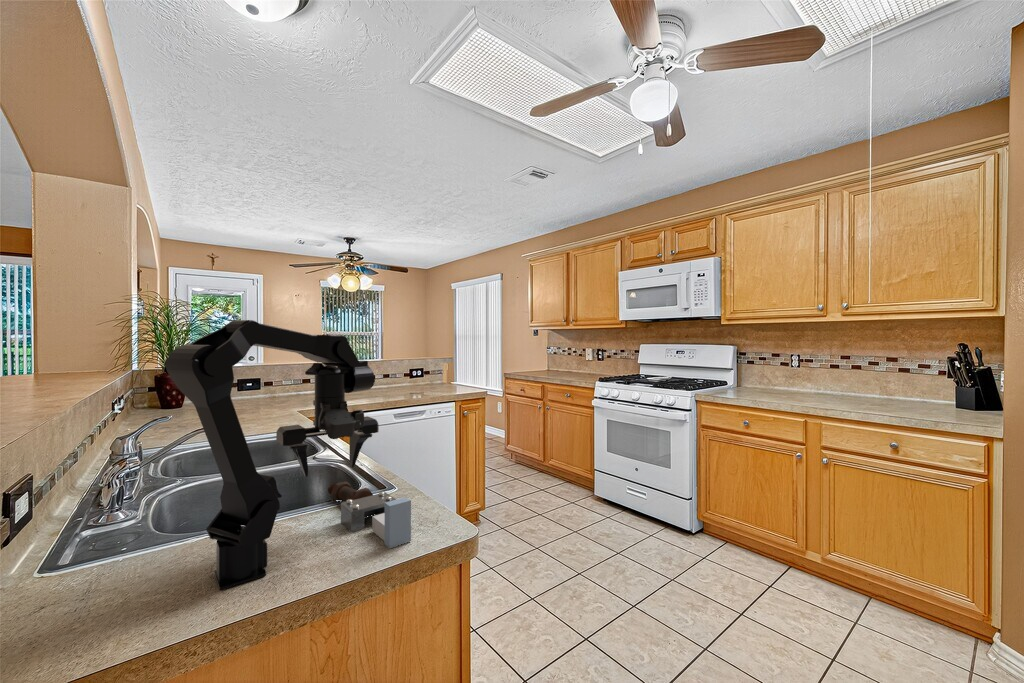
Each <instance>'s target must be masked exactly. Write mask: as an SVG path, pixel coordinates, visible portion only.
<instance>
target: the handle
mask: <svg viewBox="0 0 1024 683" xmlns="http://www.w3.org/2000/svg"><path fill="white" fill-rule="evenodd" d="M396 499H397V498H396ZM371 517H372V518H371V519H372V530H371V531H372V532H373V533H374V534H375V535H376V536H378V537H379V538H380V539H381V540H382V541H383V542H384V546H386V547H387V548H388V549H392V548H396V547H399V546H401V544H402V545H405V544H408V543H410V542H409V541H411V542H412V500H411V499H410V498H408V497H405V496H404V497H402V498H398V499H397V500H393V501H389V502H385V513H383V514H379V515H374V516H371ZM407 542H408V543H407ZM404 543H405V544H404ZM398 545H399V546H398Z"/></svg>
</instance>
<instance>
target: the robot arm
mask: <svg viewBox="0 0 1024 683" xmlns="http://www.w3.org/2000/svg"><path fill="white" fill-rule="evenodd" d="M253 346H255V347H260V348H265V349H273V350H279V351H284V352H290V353H294V354H295V353H296V354H298V355H301V356H302V357H303V358H305V359H308V360H310V361H313V362H314V363H313V364H312V365H311V366H310V367H309V368H308V369H307V370H305V373H304V374H305V375H306V376H314V400H313V399H312V400H313V402H312V403H313V406H314V420H313V421H312V423H313V427H304V426H301V425H300V424H291V425H290V424H289V425H284V426H279V427H278V428H277V429H276V434H275V435H276V440H275V441H276V442H277V443H279V444H280V445H281V446H284V447H287V448H288V449H290V450H292V452H293V453H294V454H295V457H296V459H297V461H298V464H299V466H300V469H301V472H302V474H303V475H304V477H308V476H309V465H308V463H309V462H308V453H307V450H308V444H307V443H305V441H306V440H307V438H314V437H320V436H327V437H328V438H329V439H331V440H338V439H339V438H345V437H347V438H349V456H348V457H349V466H350V468H352V469H353V468H354V469H355V465H356V463H357V461H358V460H357V459H358V457H359V454H360V452H361V450H362V447H363V445H364V443H365V442H366V441H367V440H368V439H369V438H372V437H373V434H376V433H379V421H377V419H376V418H373V417H370V416H368V415H367V416H365V412H364V411H363V410H362V409H356V410H355V409H354V410H352V411H349V409H348V402H347V401H346V394H350V393H351V394H352V393H358V392H363V391H369V390H371V389H372V388H373V387H374V384H375V382H376V375H375V373H374V370H372V368H371V367H370V366H369V361H368V360H359V358H358V357H357V355H356V354H355V351H354V350H353V349H352V347H351V345H350V342H349V341H348V338H347V336H345V335H343V334H309V333H304V332H301V331H300V332H299V331H296V330H290V329H287V328H283V327H278V326H273V325H269V324H265V323H260V322H257V321H256V320H252V319H237V320H235V319H234V320H232V321H230V322H228V323H226V324H225V325H224V326H222V327H221V328H219V329H217V330H215V331H213V332H211V333H208V334H205V335H204V336H202V337H200V338H198V339H196V340H194V341H193V342H191V343H189V344H184V345H183V344H182V345H179V346H177V347H175V348H174V349H173V350H172V351H171V352H170V353H169V355H168V357H167V358H165V369H166V370H165V371H166V372H167V374H168V375H169V377H170V378H171V380H172V381H173V383H174V384H175V386H176V387H177V390H179V391H180V392H181V393H182V394H183V395H184V396H185V397H186V398H187V399H188V400H189V401H190V402H191V403H192V404H193V406H194V407H195V410H196V413H197V416H198V418H199V421H200V423H201V425H202V428H203V431H204V434H205V437H206V439H207V442H208V444H209V447H210V449H211V452H212V455H213V457H214V461H215V463H216V465H217V469H218V470H219V472H220V474H219V475H220V476H221V478H222V482H223V486H222V490H221V494H220V498H219V499H220V504H221V509H220V510H219V511H218V513H217V514H216V515H215V517H214V518H213V519H212V520H211V522H210V524H209V525H208V526H207V527H206V533H207V535H208V537H209V539H210V540H215V541H216V570H214V573H213V574H214V577H215V581H216V583H217V586H218V589H219V590H221V591H222V590H226V589H229V588H231V587H235V586H238V585H241V584H244V583H247V582H251V581H255V580H257V579H261V578H264V577H266V575H267V571H266V569H265V568H267V566H268V543H267V539H269V538H270V537H271V535H272V531H273V528H274V525H275V521H276V518H277V515H278V511H280V509H281V503H280V502H281V501H280V498H282V497H283V495H282V494H281V493H280V492H279V490H278V487H277V481H276V479H275V477H274V476H270V475H266V474H260V473H259V472H258V471H257V468H256V465H255V462H254V459H253V458H252V457H253V456H252V454H251V451H250V448H249V445H248V442H247V440H246V436H245V434H244V431H243V428H242V425H241V423H240V420H239V416H238V414H237V412H236V408H235V405H234V403H233V400H232V394H231V393H232V390H233V386H234V385H233V384H234V381H235V375H234V368H233V367H234V366H235V365H237V364H238V363H239V362H240V361H242V360H243V359H245V357H246V355H247V354H248V352H249V351H250V349H251V348H252V347H253Z"/></svg>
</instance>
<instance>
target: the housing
mask: <svg viewBox="0 0 1024 683" xmlns="http://www.w3.org/2000/svg"><path fill="white" fill-rule="evenodd" d="M393 500H397V498H395V497H394V496H392V495H390V494H389V493H387V492H385V491H379V492H378V493H375V494H373V495H372V496H368V497H364V498H360V499H355V500H352V499H348V500H347V502H345V501H343V502H340V523H341V525H343V526H344V527H345V528H346V529H347V530H348V531H349V530H350V531H349V532H350V533H353V532H357V531H361V530H363V528H364V529H365V518H364V517H367V516H370V517H372V516H371V515H374V514H376V515H379V514H383V513H385V502H389V501H393ZM374 516H375V515H374ZM367 518H368V517H367ZM360 529H361V530H360ZM356 530H357V531H356Z"/></svg>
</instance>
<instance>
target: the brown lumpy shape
mask: <svg viewBox="0 0 1024 683" xmlns="http://www.w3.org/2000/svg"><path fill="white" fill-rule="evenodd" d="M327 492H328V494H330V496H331V497H332V499H333V500H334V501H335V502H336V500H342V501H343V502H347V500H348V499H352V500H355V499H360V498H364V497H368V496H372V495H374V494H373V492H372V491H371V489H369V488H368V487H363V488H360V489H354V488H353V487H352V486H351V484H350V483H349V482H348V481H341V482H332V483H330V484H329V487H328V489H327ZM337 503H341V502H340V501H338V502H337Z"/></svg>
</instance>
